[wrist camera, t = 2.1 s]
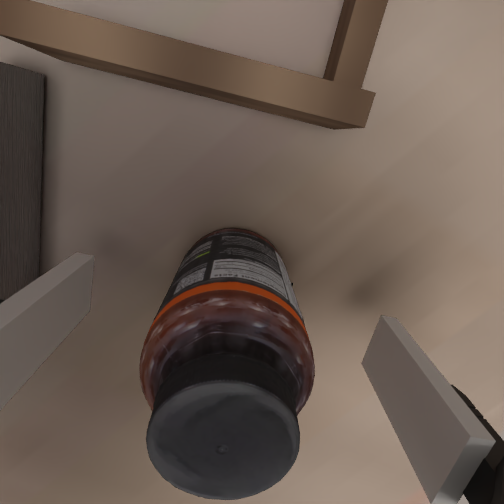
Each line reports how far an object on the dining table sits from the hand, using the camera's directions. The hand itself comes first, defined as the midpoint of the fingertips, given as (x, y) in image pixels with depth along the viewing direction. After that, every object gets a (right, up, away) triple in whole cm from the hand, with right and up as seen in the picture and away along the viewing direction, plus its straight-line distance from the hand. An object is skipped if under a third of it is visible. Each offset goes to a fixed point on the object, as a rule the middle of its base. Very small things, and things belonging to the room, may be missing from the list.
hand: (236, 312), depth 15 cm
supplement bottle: (0, +2, +4) cm, 5 cm away
